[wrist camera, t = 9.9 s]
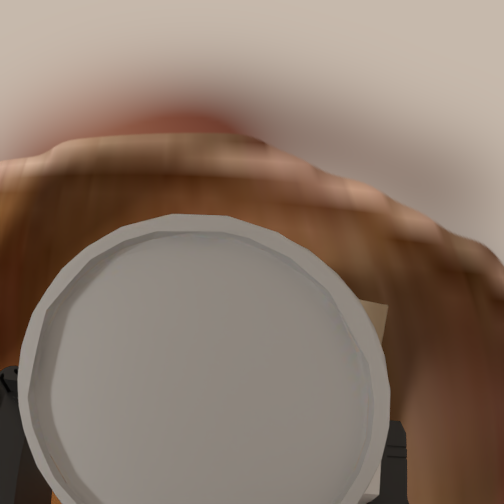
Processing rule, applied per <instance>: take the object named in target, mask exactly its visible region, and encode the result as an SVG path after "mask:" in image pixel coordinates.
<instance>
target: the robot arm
mask: <svg viewBox="0 0 504 504" xmlns="http://www.w3.org/2000/svg"><path fill="white" fill-rule="evenodd" d="M18 369H19V367H18V366H9V367H7V368H4V369H3V370H2V371H1V372H0V504H51V495H52V489H51V487H50V486H49V484H48V483H47V481H46V480H45V478H44V477H43V475H42V473H41V472H40V470H39V469H38V467H37V465H36V463H35V460H34V458H33V455H32V452H31V450H30V447H29V444H28V441H27V439H26V436H25V433H24V429H23V425H22V420H21V415H20V410H19V402H18V380H17V378H18ZM406 457H407V449H406V433H405V431H404V428H403V426H402V424H401V422H400V421H391V420H389V430H388V434H387V439H386V443H385V447H384V452H383V456H382V459H381V462H380V464H379V466H378V468H377V470H376V472H375V474H374V476H373V478H372V480H371V482H370V484H369V486H368V488H367V490H366V491H365V493H364V494H363V496H362V497H361V499H360V500H359V502H358V503H357V504H409V503H408V500H407V460H406Z"/></svg>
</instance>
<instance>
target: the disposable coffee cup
mask: <svg viewBox="0 0 504 504" xmlns="http://www.w3.org/2000/svg"><path fill="white" fill-rule="evenodd" d="M17 380H18V402H19V410H20V415H21V420H22V425H23V429H24V433H25V436H26V439H27V441H28V444H29V447H30V450H31V452H32V455H33V458H34V460H35V463H36V465H37V467H38V469H39V470H40V472H41V473H42V475H43V477H44V478H45V480H46V481H47V483H48V484H49V486H50V487H51V489H52V490H53V492H54V493H55V495H56V496H57V497H58V499H59V500H60V502H61V503H62V504H357V503H358V502H359V500H360V499H361V497H362V496H363V494H364V493H365V491H366V490H367V488H368V486H369V484H370V482H371V480H372V478H373V476H374V474H375V472H376V470H377V468H378V466H379V464H380V462H381V459H382V456H383V452H384V447H385V443H386V439H387V434H388V430H389V419H390V386H389V381H388V374H387V367H386V360H385V355H384V352H383V349H382V346H381V344H380V341H379V338H378V335H377V332H376V330H375V327H374V325H373V324H372V322H371V320H370V318H369V316H368V315H367V313H366V311H365V309H364V308H363V306H362V304H361V302H360V300H359V299H358V298H357V297H356V295H355V294H354V293H353V292H352V291H351V289H350V288H349V287H348V286H347V285H346V283H345V282H344V281H343V280H342V279H341V278H340V276H339V275H338V274H337V273H336V272H335V271H333V270H332V269H331V268H330V267H329V266H327V265H326V264H325V263H324V262H323V261H321V260H320V259H319V258H318V257H317V256H315V255H314V254H313V253H312V252H311V251H309V250H308V249H306V248H304V247H302V246H300V245H298V244H296V243H294V242H292V241H290V240H289V239H287V238H286V237H284V236H283V235H281V234H279V233H278V232H275V231H272V230H269V229H266V228H263V227H260V226H257V225H254V224H251V223H248V222H244V221H241V220H238V219H235V218H232V217H229V216H217V215H191V214H170V215H166V216H162V217H158V218H154V219H150V220H146V221H142V222H138V223H134V224H130V225H127V226H123V227H120V228H119V229H117V230H115V231H113V232H111V233H110V234H108V235H106V236H104V237H103V238H101V239H99V240H98V241H96V242H94V243H92V244H91V245H89V246H87V247H86V248H85V249H83V250H82V251H81V252H80V253H79V254H78V255H77V256H76V257H74V258H73V259H72V260H71V261H70V262H69V263H68V264H67V265H66V266H64V267H63V268H62V269H61V271H60V272H59V273H58V275H57V276H56V278H55V279H54V280H53V282H52V283H51V285H50V286H49V288H48V289H47V290H46V292H45V294H44V295H43V297H42V298H41V300H40V302H39V303H38V305H37V306H36V308H35V310H34V311H33V313H32V316H31V319H30V322H29V325H28V328H27V331H26V334H25V337H24V340H23V343H22V346H21V353H20V361H19V369H18V378H17Z"/></svg>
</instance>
